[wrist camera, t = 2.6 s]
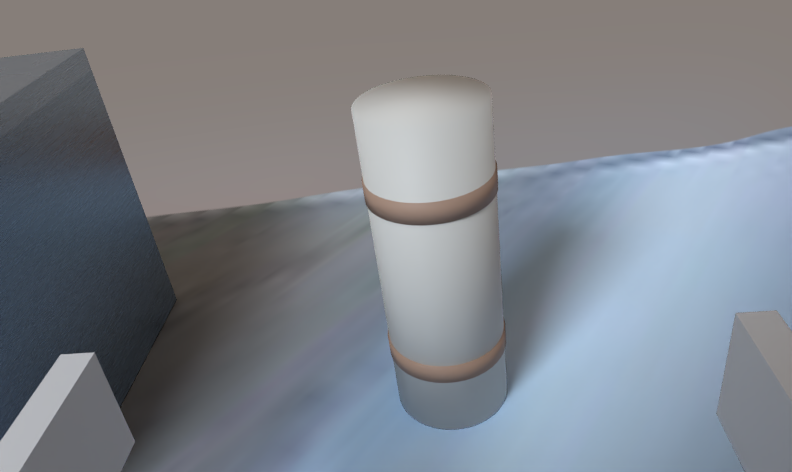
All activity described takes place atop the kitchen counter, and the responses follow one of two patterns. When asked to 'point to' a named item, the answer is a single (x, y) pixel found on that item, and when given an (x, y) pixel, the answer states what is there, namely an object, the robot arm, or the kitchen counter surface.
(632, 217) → the kitchen counter surface
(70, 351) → the grey box with opening
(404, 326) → the coin roll
